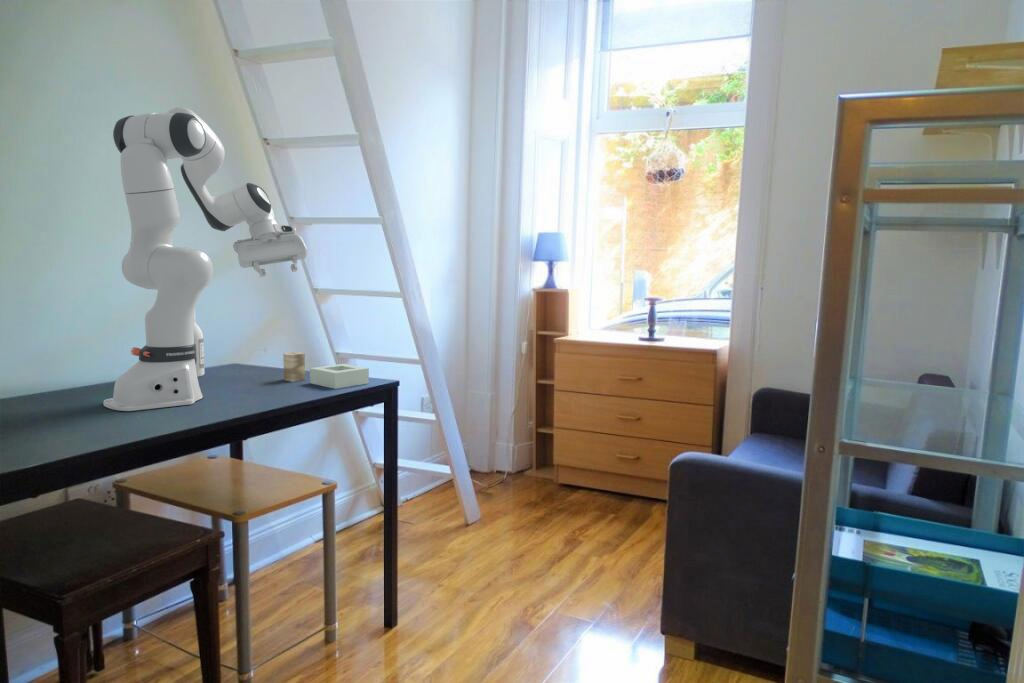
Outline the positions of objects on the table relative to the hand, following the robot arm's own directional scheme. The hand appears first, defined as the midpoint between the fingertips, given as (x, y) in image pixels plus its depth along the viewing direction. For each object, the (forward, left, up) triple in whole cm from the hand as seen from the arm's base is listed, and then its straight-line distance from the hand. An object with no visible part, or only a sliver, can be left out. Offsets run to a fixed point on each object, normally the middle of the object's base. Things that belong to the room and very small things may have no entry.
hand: (279, 273), depth 214 cm
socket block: (+6, -21, -32) cm, 39 cm away
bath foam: (-18, +20, -32) cm, 42 cm away
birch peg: (0, -7, -32) cm, 33 cm away
